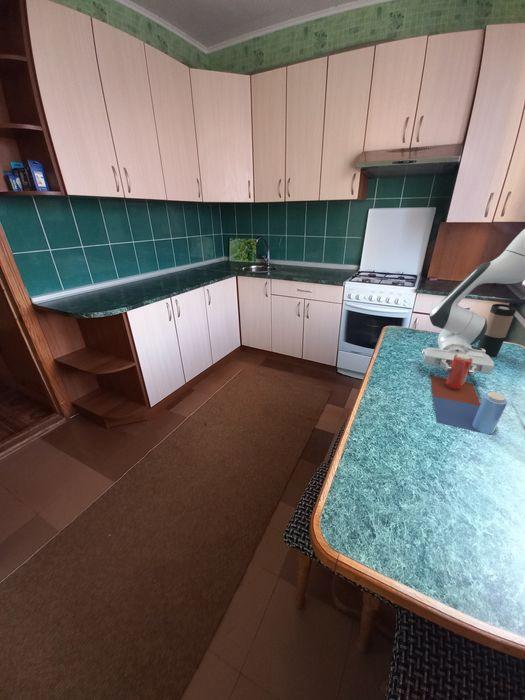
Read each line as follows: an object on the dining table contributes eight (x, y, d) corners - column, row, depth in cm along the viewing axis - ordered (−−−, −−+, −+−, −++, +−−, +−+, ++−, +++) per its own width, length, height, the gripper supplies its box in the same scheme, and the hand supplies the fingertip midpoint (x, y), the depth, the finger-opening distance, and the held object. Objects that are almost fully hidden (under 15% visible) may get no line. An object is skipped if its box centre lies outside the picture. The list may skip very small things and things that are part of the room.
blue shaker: (491, 424, 81) (505, 392, 76) (496, 436, 77) (511, 403, 72) (470, 419, 83) (483, 388, 78) (473, 431, 79) (487, 399, 74)
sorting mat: (472, 384, 100) (472, 383, 100) (490, 436, 78) (491, 435, 78) (429, 376, 105) (430, 375, 104) (436, 424, 83) (436, 422, 82)
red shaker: (461, 382, 98) (471, 353, 93) (464, 390, 94) (474, 361, 89) (444, 378, 99) (453, 351, 94) (446, 386, 95) (455, 358, 90)
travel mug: (472, 352, 120) (489, 306, 111) (479, 347, 125) (495, 302, 115) (494, 359, 115) (513, 311, 106) (500, 353, 119) (519, 307, 110)
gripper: (423, 340, 107) (425, 357, 96) (490, 350, 99) (501, 369, 88) (419, 355, 110) (421, 373, 98) (484, 365, 102) (493, 386, 91)
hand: (459, 371), depth 93 cm, fingers closed on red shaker, 5 cm apart
